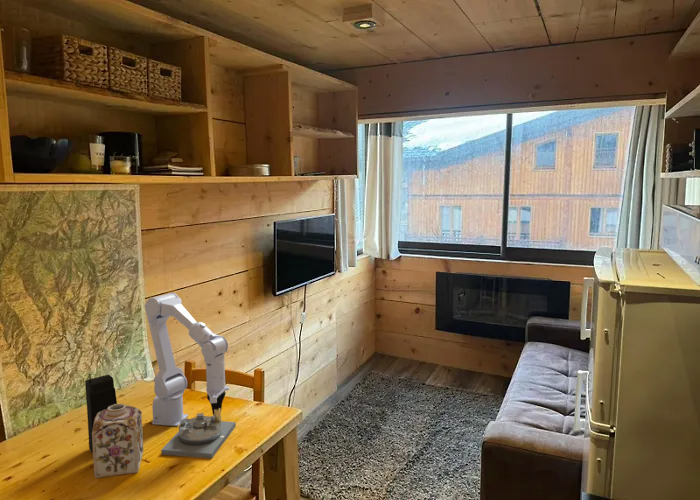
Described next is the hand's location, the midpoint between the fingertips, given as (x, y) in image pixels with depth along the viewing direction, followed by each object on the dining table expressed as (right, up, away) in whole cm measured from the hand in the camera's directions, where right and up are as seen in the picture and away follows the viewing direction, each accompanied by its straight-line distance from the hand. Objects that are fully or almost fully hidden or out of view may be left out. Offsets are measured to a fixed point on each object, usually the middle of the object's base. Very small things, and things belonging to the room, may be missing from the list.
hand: (217, 414), depth 163 cm
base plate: (-5, -7, -2) cm, 9 cm away
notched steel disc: (-5, -6, -2) cm, 8 cm away
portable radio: (-33, -8, -8) cm, 34 cm away
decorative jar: (-24, -9, -17) cm, 31 cm away
